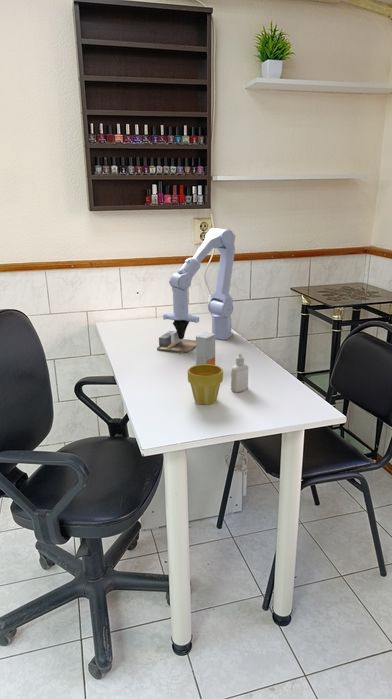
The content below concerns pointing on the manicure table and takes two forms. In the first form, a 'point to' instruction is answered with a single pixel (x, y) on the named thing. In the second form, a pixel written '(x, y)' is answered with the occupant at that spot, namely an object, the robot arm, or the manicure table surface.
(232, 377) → the eye dropper bottle
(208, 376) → the plant pot
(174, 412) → the manicure table surface
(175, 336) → the paddle
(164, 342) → the gauge frame
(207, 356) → the skincare box
